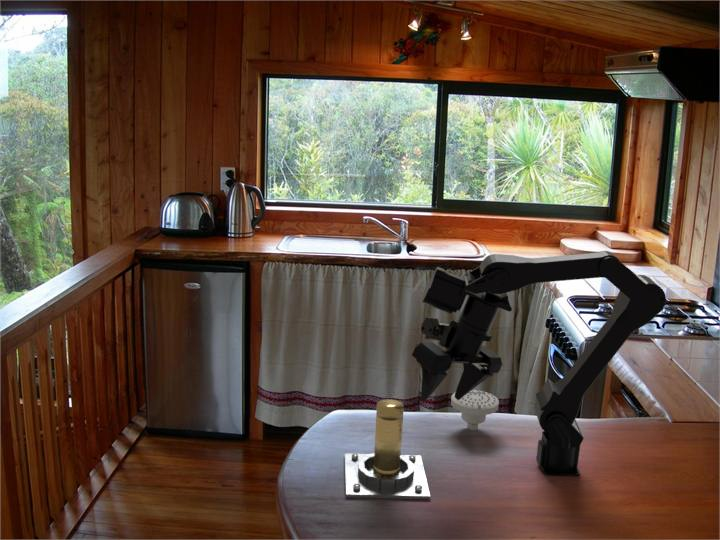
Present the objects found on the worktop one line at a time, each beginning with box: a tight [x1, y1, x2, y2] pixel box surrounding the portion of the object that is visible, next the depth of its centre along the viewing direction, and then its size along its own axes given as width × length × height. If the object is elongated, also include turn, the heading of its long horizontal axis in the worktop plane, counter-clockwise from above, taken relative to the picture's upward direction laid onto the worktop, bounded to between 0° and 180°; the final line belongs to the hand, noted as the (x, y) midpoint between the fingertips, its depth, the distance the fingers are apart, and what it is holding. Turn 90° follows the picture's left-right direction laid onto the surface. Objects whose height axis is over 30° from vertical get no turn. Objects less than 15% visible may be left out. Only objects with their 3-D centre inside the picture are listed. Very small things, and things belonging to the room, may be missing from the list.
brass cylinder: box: [373, 399, 405, 477], centre depth 132 cm, size 5×5×13 cm
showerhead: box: [450, 389, 500, 431], centre depth 153 cm, size 9×7×10 cm
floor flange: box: [344, 452, 431, 500], centre depth 134 cm, size 14×14×2 cm
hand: (440, 398), depth 139 cm, fingers open, 9 cm apart
